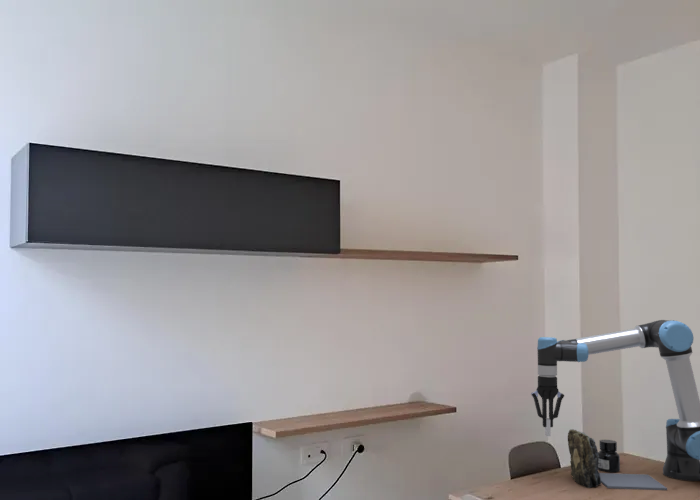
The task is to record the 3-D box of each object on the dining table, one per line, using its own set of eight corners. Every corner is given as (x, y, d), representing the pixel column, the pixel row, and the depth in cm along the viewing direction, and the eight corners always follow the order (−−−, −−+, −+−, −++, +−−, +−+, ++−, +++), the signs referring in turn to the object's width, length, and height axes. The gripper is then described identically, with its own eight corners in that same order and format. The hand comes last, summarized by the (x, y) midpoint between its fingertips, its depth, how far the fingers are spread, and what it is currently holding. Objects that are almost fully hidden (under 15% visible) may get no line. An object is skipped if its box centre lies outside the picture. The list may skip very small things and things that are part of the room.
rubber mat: (648, 476, 260) (648, 474, 260) (667, 490, 241) (667, 488, 241) (592, 474, 262) (592, 472, 262) (607, 488, 243) (607, 486, 243)
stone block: (606, 487, 244) (605, 434, 245) (585, 488, 242) (584, 435, 243) (579, 474, 262) (578, 425, 263) (560, 475, 260) (559, 426, 261)
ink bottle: (593, 467, 274) (593, 438, 275) (613, 467, 274) (613, 438, 275) (603, 473, 264) (602, 443, 265) (624, 473, 265) (623, 443, 265)
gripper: (561, 375, 259) (562, 434, 257) (529, 374, 260) (529, 432, 259) (566, 377, 252) (566, 438, 250) (532, 376, 253) (533, 436, 251)
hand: (547, 435), depth 254 cm, fingers closed
